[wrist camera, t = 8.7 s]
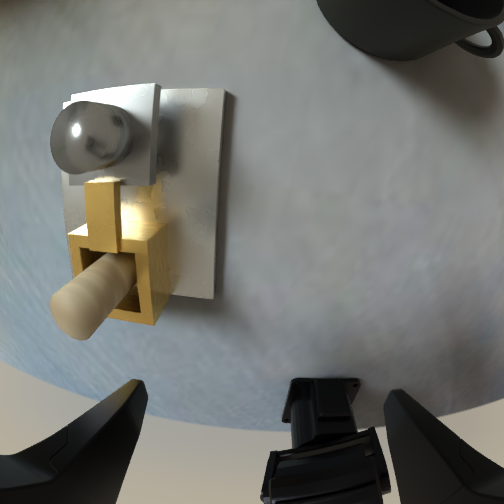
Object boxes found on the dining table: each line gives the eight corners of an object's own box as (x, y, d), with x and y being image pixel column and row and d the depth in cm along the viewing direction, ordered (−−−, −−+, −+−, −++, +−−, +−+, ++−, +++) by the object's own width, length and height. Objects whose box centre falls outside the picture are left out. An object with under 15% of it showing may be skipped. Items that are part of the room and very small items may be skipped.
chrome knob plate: (215, 297, 21) (195, 358, 15) (78, 278, 21) (31, 320, 15) (226, 90, 16) (203, 62, 10) (69, 103, 16) (6, 99, 10)
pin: (151, 278, 20) (98, 345, 12) (118, 273, 20) (57, 333, 13) (149, 241, 19) (87, 297, 11) (114, 238, 19) (45, 287, 12)
